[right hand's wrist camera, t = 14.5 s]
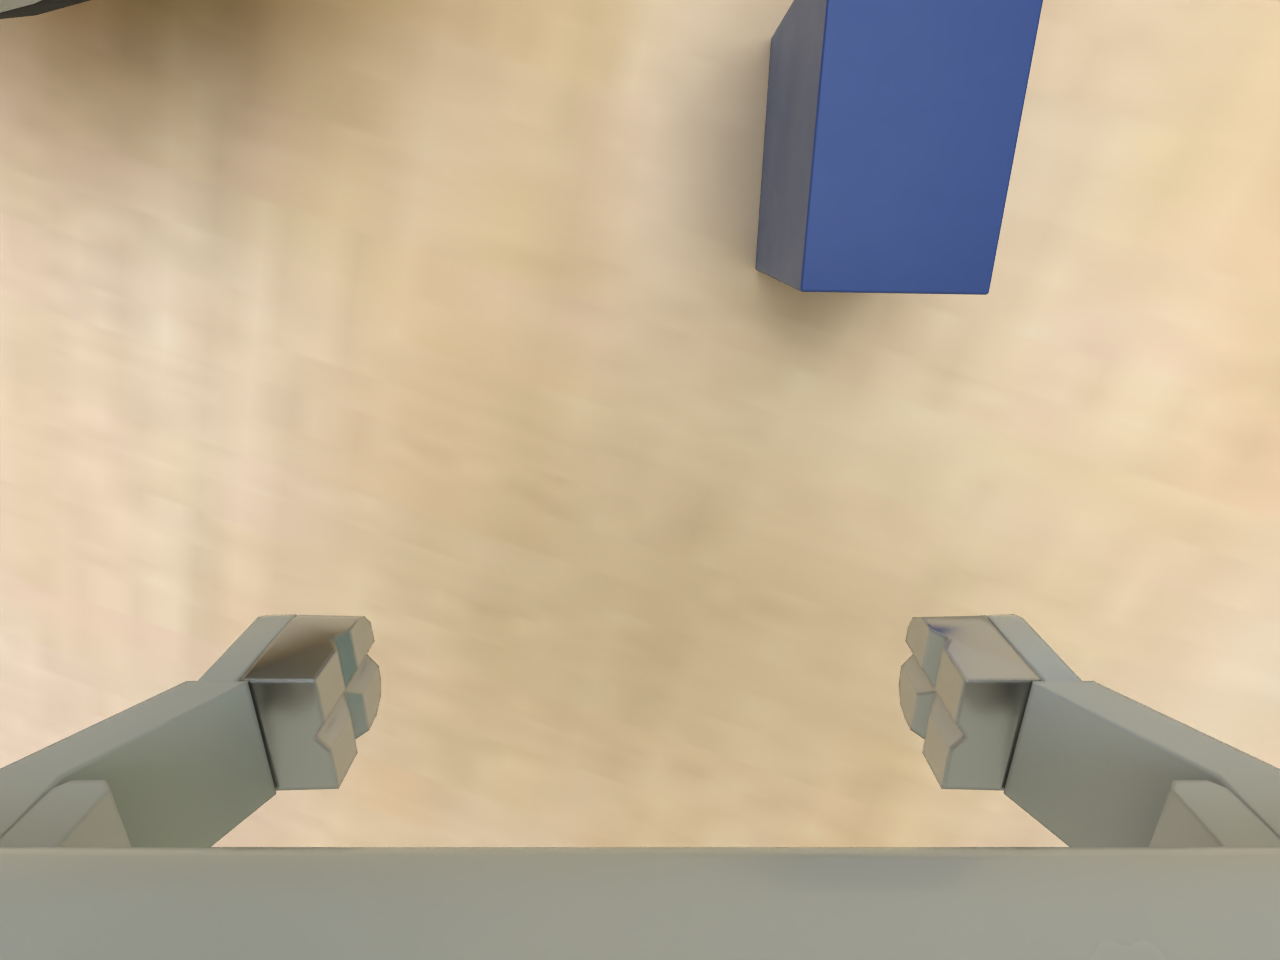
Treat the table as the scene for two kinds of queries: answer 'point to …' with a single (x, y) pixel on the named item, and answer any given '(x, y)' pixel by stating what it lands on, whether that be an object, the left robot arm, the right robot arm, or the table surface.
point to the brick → (891, 142)
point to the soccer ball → (32, 7)
